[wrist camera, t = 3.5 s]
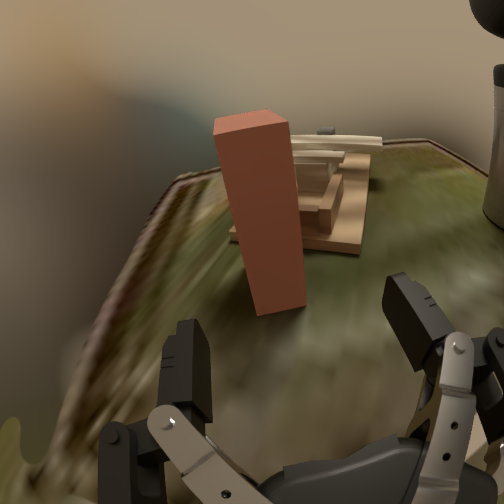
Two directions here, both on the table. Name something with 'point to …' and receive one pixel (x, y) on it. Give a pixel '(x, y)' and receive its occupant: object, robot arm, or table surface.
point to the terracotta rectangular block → (264, 206)
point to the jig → (331, 189)
